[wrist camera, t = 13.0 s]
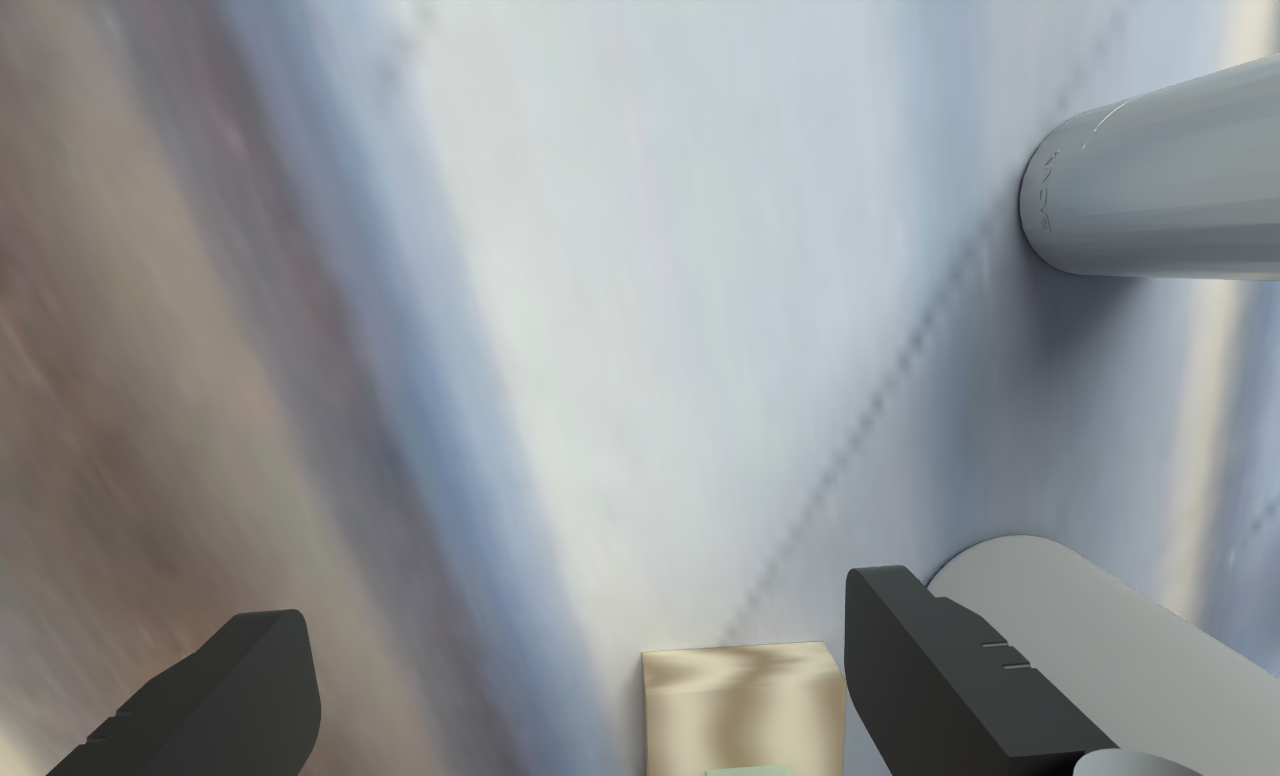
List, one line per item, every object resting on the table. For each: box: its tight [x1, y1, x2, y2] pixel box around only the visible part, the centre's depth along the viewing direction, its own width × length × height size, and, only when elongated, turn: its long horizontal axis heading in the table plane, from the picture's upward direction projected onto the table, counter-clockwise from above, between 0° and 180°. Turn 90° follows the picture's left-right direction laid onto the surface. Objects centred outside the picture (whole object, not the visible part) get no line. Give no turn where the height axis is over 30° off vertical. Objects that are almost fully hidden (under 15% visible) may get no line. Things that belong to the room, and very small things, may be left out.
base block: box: [642, 641, 847, 776], centre depth 40 cm, size 12×16×4 cm
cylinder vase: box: [927, 535, 1280, 776], centre depth 29 cm, size 12×12×25 cm
